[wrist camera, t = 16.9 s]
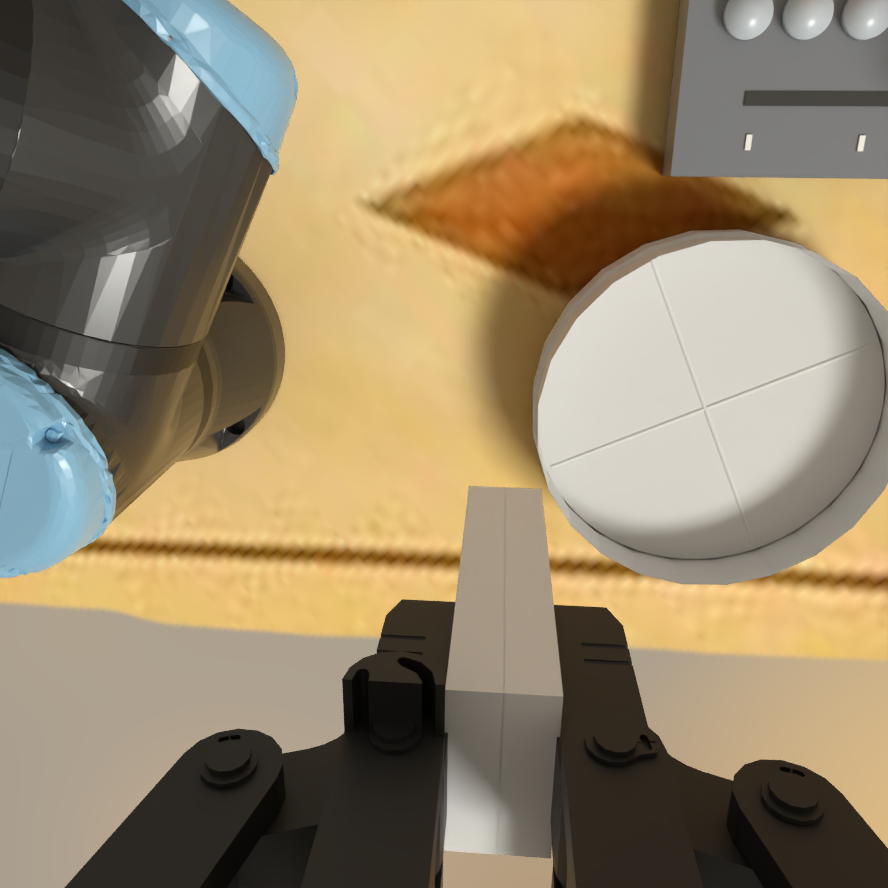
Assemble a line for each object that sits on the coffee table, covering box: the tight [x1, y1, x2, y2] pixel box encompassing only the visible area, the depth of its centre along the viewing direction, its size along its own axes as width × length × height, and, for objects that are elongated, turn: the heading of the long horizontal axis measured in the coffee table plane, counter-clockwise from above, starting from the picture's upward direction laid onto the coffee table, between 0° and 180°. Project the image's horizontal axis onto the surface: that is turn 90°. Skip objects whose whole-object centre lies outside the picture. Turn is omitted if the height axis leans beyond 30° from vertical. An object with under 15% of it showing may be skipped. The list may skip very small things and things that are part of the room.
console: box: [662, 0, 888, 179], centre depth 40 cm, size 20×16×3 cm
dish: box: [533, 229, 888, 585], centre depth 48 cm, size 22×22×5 cm
